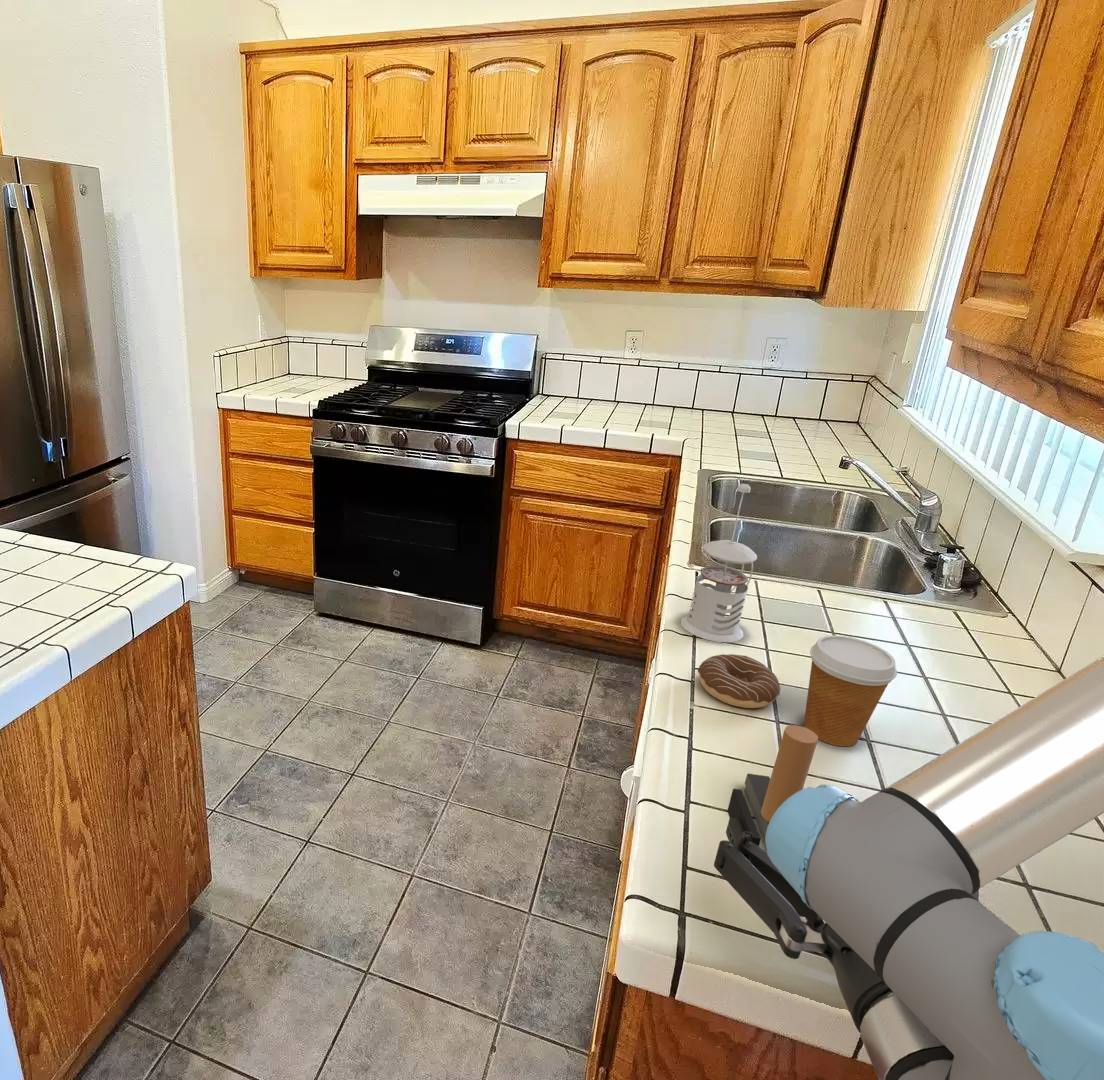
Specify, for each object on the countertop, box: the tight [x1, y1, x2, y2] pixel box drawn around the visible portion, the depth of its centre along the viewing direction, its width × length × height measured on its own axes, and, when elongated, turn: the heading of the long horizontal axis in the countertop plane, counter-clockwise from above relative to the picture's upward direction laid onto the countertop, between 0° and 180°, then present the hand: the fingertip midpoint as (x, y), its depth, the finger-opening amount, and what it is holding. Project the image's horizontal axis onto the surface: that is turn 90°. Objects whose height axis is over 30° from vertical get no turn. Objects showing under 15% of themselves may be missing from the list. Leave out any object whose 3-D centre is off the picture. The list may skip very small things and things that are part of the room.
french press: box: [680, 483, 758, 643], centre depth 121 cm, size 10×12×25 cm
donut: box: [697, 653, 781, 709], centre depth 106 cm, size 11×11×4 cm
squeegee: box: [744, 724, 819, 846], centre depth 78 cm, size 3×14×13 cm, turn 170°
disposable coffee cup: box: [803, 634, 898, 747], centre depth 96 cm, size 10×10×12 cm
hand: (809, 811), depth 71 cm, fingers open, 13 cm apart
